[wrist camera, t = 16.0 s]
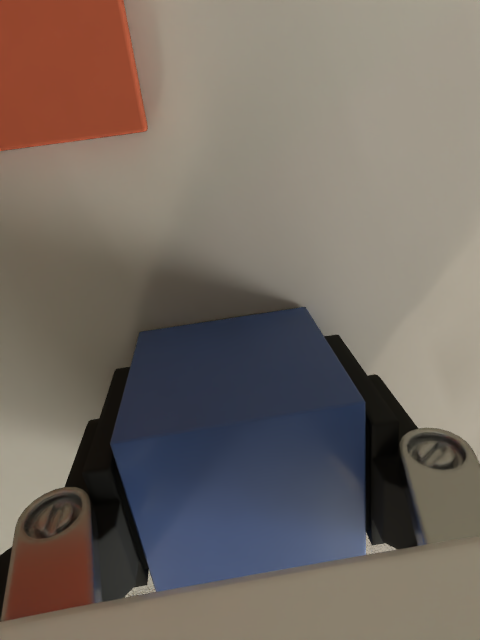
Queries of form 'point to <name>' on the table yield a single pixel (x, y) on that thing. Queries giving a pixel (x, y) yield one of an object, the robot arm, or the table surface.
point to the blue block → (241, 449)
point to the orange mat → (66, 72)
